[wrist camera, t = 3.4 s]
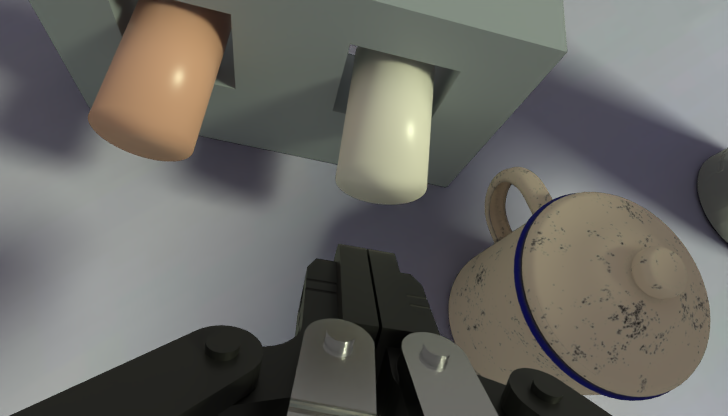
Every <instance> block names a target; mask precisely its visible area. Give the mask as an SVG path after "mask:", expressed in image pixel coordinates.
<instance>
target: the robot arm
mask: <svg viewBox="0 0 728 416" xmlns="http://www.w3.org/2000/svg"><path fill="white" fill-rule="evenodd" d="M698 194H699V198H700V202H701V205H702V207H703V209H704V212H705V214H706V216H707V218H708V219H709V221H710V222H711V224H712V226H713V227H714V228H715V230H716V231H717V232H718V233H719V235H720V236H721V237H722V238H723V239H724V240H725V241H726V242H727V243H728V148H727V149H725V150H723V151H721V152H719V153H717V154H716V155H714V156H712V157H710V158H709V159H708V160H707V161H706V162H704V163H703V165H702V167H701V169H700V171H699V176H698ZM10 416H612V415H610V414H609V413H608V412H606V411H605V410H603V409H602V408H600V407H599V406H597V405H596V404H594V403H593V402H591V401H590V400H588V399H587V398H586V397H584V396H583V395H581V394H580V393H578V392H577V391H575V390H574V389H572V388H571V387H569V386H568V385H566V384H565V383H563V382H562V381H560V380H559V379H557V378H556V377H554V376H552V375H550V374H548V373H545V372H543V371H540V370H536V369H532V368H519V369H516V370H514V371H513V372H512V373H511V374H510V376H509V379H508V381H507V384H506V385H504V384H502V383H499V382H496V381H493V380H491V379H488V378H485V377H482V376H480V375H477V374H476V372H475V370H474V368H473V367H472V365H471V363H470V361H469V359H468V357H467V355H466V354H465V352H464V351H463V350H462V349H461V348H460V347H459V346H458V345H456V344H455V343H454V342H452V341H450V340H449V339H447V338H445V337H442V336H440V334H439V331H438V328H437V326H436V323H435V320H434V317H433V315H432V312H431V310H430V306H429V304H428V301H427V300H426V295H425V293H424V290H423V287H422V285H421V284H420V283H419V282H418V281H417V280H416V279H415V278H414V277H413V276H412V275H411V274H405V273H400V271H399V267H398V264H397V260H396V257H395V254H394V253H388V252H382V251H376V250H371V249H367V250H366V249H365V248H360V247H354V246H348V245H343V244H338V246H337V250H336V254H335V258H334V261H328V260H322V259H315V260H314V261H313V262H312V263H311V264H310V265H309V266H308V267H307V272H306V276H305V281H304V286H303V291H302V296H301V301H300V306H299V311H298V316H297V323H296V332H295V337H294V338H293V339H291V340H290V341H288V342H285V343H283V344H279V345H275V346H267V347H262V345H261V343H260V341H259V340H258V339H257V338H256V337H255V336H254V335H253V334H251V333H249V332H248V331H246V330H243V329H241V328H237V327H232V326H223V325H220V326H209V327H205V328H202V329H199V330H196V331H194V332H192V333H190V334H188V335H185V336H183V337H181V338H179V339H177V340H174V341H172V342H170V343H168V344H166V345H163V346H161V347H159V348H157V349H155V350H153V351H150V352H148V353H146V354H144V355H142V356H139V357H137V358H135V359H133V360H131V361H128V362H126V363H124V364H122V365H120V366H117V367H115V368H113V369H111V370H109V371H106V372H104V373H102V374H100V375H98V376H96V377H93V378H91V379H89V380H87V381H85V382H82V383H80V384H78V385H76V386H74V387H71V388H69V389H67V390H65V391H63V392H60V393H58V394H56V395H54V396H52V397H50V398H47V399H45V400H43V401H41V402H39V403H36V404H34V405H32V406H30V407H28V408H25V409H23V410H21V411H19V412H17V413H14V414H12V415H10Z"/></svg>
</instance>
